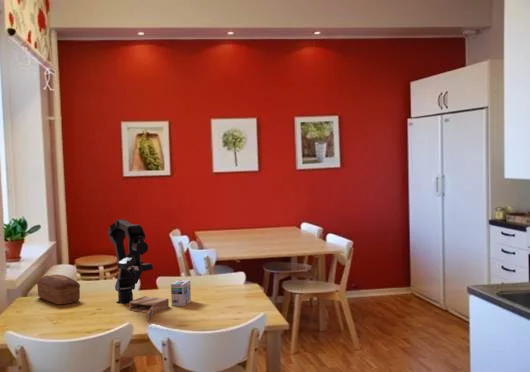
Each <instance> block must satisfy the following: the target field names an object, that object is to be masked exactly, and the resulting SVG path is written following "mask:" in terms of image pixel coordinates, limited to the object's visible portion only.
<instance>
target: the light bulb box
mask: <svg viewBox="0 0 530 372" xmlns="http://www.w3.org/2000/svg"><path fill="white" fill-rule="evenodd" d="M170 292H171V293H170V295H171V296H170V297H171V306H172V307H184V306H186V305H188V304H189V303H191V301H192V298H191V297H192V294H191V280H189V279H177V280H176V281H174V282H173V283H171V284H170Z"/></svg>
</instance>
